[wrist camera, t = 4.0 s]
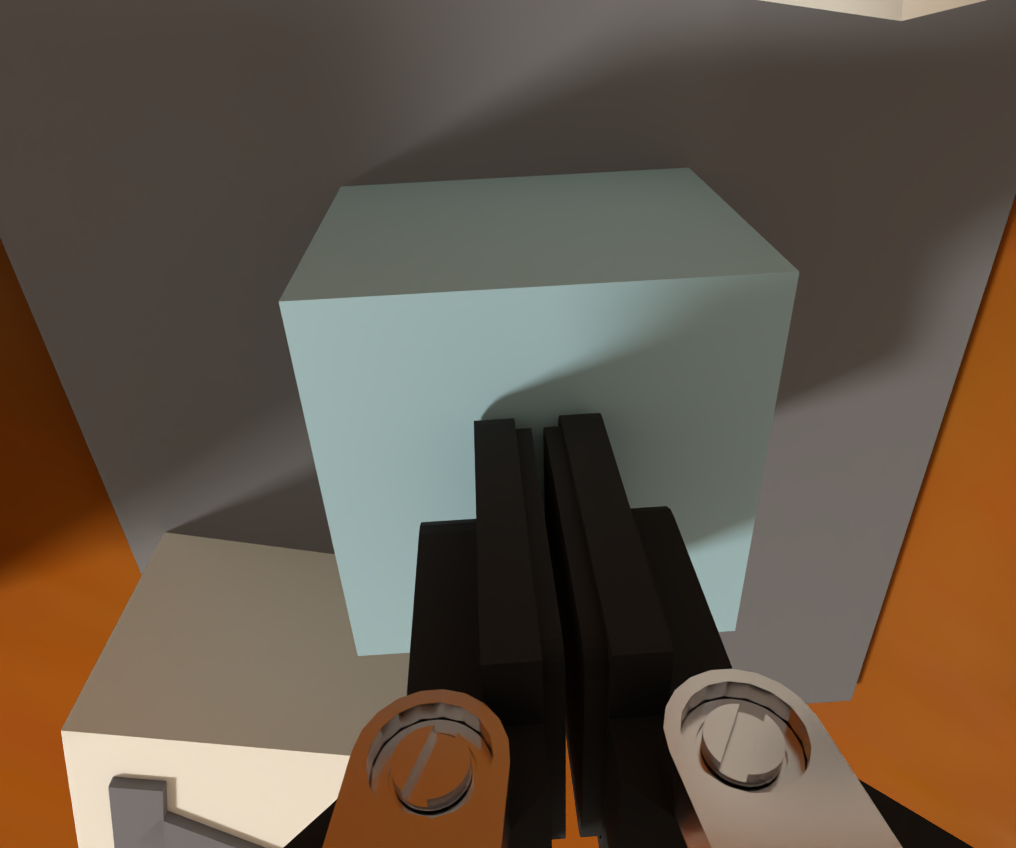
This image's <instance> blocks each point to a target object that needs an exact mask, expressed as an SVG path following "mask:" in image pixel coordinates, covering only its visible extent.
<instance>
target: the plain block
mask: <svg viewBox="0 0 1016 848" xmlns="http://www.w3.org/2000/svg"><path fill="white" fill-rule="evenodd" d="M798 277H799V271H798V270H797V269H796V268H795V267H794V266H793V265H792V264H791V263H790V262H789V261H788V260H787V259H785V258H784V257H783V256H782V255H781V254H780V253H779V252H778V251H777V250H776V249H775V248H774V247H773V246H772V245H771V244H770V243H768V242H767V241H766V240H765V239H764V238H763V237H762V236H761V235H760V234H759V233H758V232H757V231H756V230H755V229H754V228H753V227H751V226H750V225H749V224H748V223H747V222H746V221H745V220H744V219H743V218H742V217H741V216H740V215H739V214H738V213H737V212H736V211H734V210H733V209H732V208H731V207H730V206H729V205H728V204H727V203H726V202H725V201H724V200H723V199H722V198H721V197H720V196H719V195H717V194H716V193H715V192H714V191H713V190H712V189H711V188H710V187H709V186H708V185H707V184H706V183H705V182H704V181H703V180H702V179H700V178H699V177H698V176H697V175H696V174H695V173H694V172H693V171H692V170H691V169H690V168H671V169H653V170H634V171H616V172H598V173H579V174H561V175H543V176H525V177H506V178H488V179H470V180H451V181H433V182H415V183H397V184H378V185H360V186H342V187H340V189H339V191H338V193H337V195H336V197H335V199H334V200H333V202H332V204H331V206H330V208H329V210H328V211H327V213H326V215H325V217H324V219H323V221H322V222H321V224H320V226H319V228H318V230H317V232H316V234H315V235H314V237H313V239H312V241H311V243H310V245H309V246H308V248H307V250H306V252H305V254H304V256H303V258H302V259H301V261H300V263H299V265H298V267H297V269H296V270H295V272H294V274H293V276H292V278H291V280H290V281H289V283H288V285H287V287H286V289H285V291H284V293H283V294H282V296H281V298H280V300H279V306H280V310H281V315H282V319H283V324H284V328H285V333H286V337H287V342H288V346H289V351H290V355H291V360H292V364H293V369H294V373H295V377H296V382H297V386H298V391H299V395H300V400H301V404H302V409H303V413H304V418H305V422H306V427H307V431H308V436H309V440H310V445H311V449H312V454H313V458H314V462H315V467H316V471H317V476H318V480H319V485H320V489H321V494H322V498H323V503H324V507H325V512H326V516H327V521H328V525H329V530H330V534H331V538H332V543H333V547H334V552H335V556H336V561H337V565H338V570H339V574H340V579H341V583H342V588H343V592H344V597H345V601H346V606H347V610H348V615H349V619H350V623H351V628H352V632H353V637H354V641H355V646H356V650H357V655H358V656H366V655H381V654H396V653H410V644H411V631H412V618H413V605H414V592H415V578H416V565H417V552H418V539H419V529H420V524H421V522H433V521H448V520H463V519H476V491H475V452H474V421H477V420H493V419H509V418H514V419H515V427H516V429H522V428H531V430H532V436H533V442H534V449H535V456H536V463H537V469H538V476H539V483H540V489H541V496H542V503H543V509H544V516H545V495H544V443H543V431H544V427H553V426H558V418H559V415H572V414H588V413H601V415H602V418H603V421H604V424H605V428H606V431H607V434H608V437H609V441H610V444H611V447H612V450H613V453H614V457H615V460H616V463H617V466H618V470H619V473H620V476H621V479H622V483H623V486H624V489H625V492H626V495H627V499H628V502H629V505H630V508H644V507H659V506H667V507H668V508H670V509H671V511H672V513H673V515H674V517H675V520H676V523H677V525H678V528H679V530H680V533H681V536H682V538H683V541H684V543H685V546H686V549H687V551H688V554H689V556H690V559H691V562H692V564H693V567H694V569H695V572H696V575H697V577H698V580H699V582H700V585H701V588H702V590H703V593H704V595H705V598H706V601H707V603H708V606H709V608H710V611H711V614H712V616H713V619H714V621H715V624H716V627H717V629H718V632H725V631H735V628H736V623H737V617H738V612H739V606H740V600H741V595H742V589H743V584H744V578H745V573H746V567H747V561H748V556H749V550H750V545H751V539H752V534H753V528H754V522H755V517H756V511H757V506H758V500H759V495H760V489H761V483H762V478H763V472H764V467H765V461H766V455H767V450H768V444H769V439H770V433H771V428H772V422H773V416H774V411H775V405H776V400H777V394H778V389H779V383H780V377H781V372H782V366H783V361H784V355H785V350H786V344H787V338H788V333H789V327H790V322H791V316H792V311H793V305H794V299H795V294H796V288H797V283H798Z"/></svg>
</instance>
